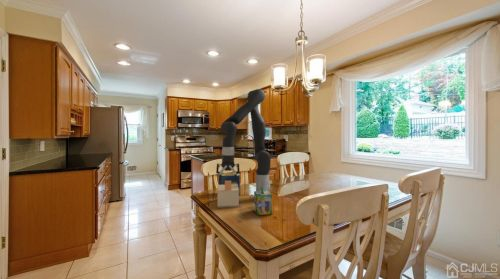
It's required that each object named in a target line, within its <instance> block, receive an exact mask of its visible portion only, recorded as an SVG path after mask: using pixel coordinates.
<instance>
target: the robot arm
mask: <svg viewBox="0 0 500 279" xmlns="http://www.w3.org/2000/svg"><path fill="white" fill-rule="evenodd" d="M265 99H266V94H265V92H264V90H263V89H261V88H256V89H254V90H250V91H249V92H248V93H247V102H245V103H244V104H243V105H241V106H239V107H238V109H236V110H235V111H234V112H233V113H232V115H231V116H229V117H228V118H227V119H225V120H224V121H223V122H222V123H221V125H220V131H221V132H222V133H224V134H225V137H223V138H222V149H221V163H219V162H218V163H217V164H216V171H215V173H216V174H217V175H218V180H219V179H220V181H222V173H224V171H226V172H228V171H229V172H230V171H232V173H234V180H236V179H237V174H238V173H239V174H240V172H241V171H240V164H239V162H238V163H235V138H236V134H237V125H240V123H241V122H242V121H244V120H245V118H246V117H247V116H248V115H249V114H250V119H251V128H252V129H251V130H252V137H253V144H254V159H255V162H256V163H257V168H256V170H255V191H261V188H260V186H261V187H262V189H263V191H269V192H270V193H271V190H270V188H271V186H270V171H271V162H272V161H271V154H270V153H269V152H268V151H266V148H265V146H266V145H265V140H266V139H265V138H266V134H267V131H266V123H265V119H264V117H263V116H262V114H261V113H260V110H259V105H260V104H261V103H262V102H264V100H265ZM220 167H221V169H220ZM235 167H236V168H237V171H236V169H234V168H235ZM219 169H220V171H219Z"/></svg>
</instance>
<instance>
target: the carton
mask: <svg viewBox="0 0 500 279" xmlns="http://www.w3.org/2000/svg"><path fill="white" fill-rule="evenodd" d="M239 199H240V196H239V191H224V192H217V209H218V208H220V209H222V208H239V207H240V206H239V205H240V200H239Z"/></svg>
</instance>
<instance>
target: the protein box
mask: <svg viewBox="0 0 500 279" xmlns="http://www.w3.org/2000/svg"><path fill="white" fill-rule="evenodd" d="M240 175H241V174H240V173H238V174H237V179H236V180H234V172H222V181H220V179H219V178H218V185H225V181H231V184H238V188H239V197H240V196H241V194H240V192H241V191H240V190H241V188H240V187H241V186H240V185H241V183H240V182H241V178H240Z"/></svg>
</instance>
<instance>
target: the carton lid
mask: <svg viewBox="0 0 500 279" xmlns="http://www.w3.org/2000/svg"><path fill="white" fill-rule="evenodd" d="M224 191H239V188H238V184H231V181H225V185H219V184H217V190H216V193H218V192H224Z"/></svg>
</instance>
